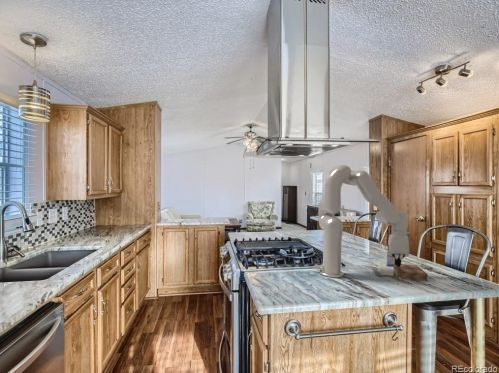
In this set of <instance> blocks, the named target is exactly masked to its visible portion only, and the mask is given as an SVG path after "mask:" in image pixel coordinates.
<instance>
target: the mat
mask: <svg viewBox="0 0 499 373" xmlns="http://www.w3.org/2000/svg"><path fill="white" fill-rule="evenodd" d="M371 269H372V271H373V272H374V274H375V276H377V277H379V278H380V277H381V278H382V277H383V278H391V279H392V278H393V279H400V277H399V276H398V274H397V273H396V272H394V276H391V275H382V274H381V273H380V272H379V270H378V268H374V267H373V268H371Z"/></svg>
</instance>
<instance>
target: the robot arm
mask: <svg viewBox="0 0 499 373" xmlns="http://www.w3.org/2000/svg"><path fill="white" fill-rule="evenodd" d="M325 180H326V181H325V184H324V196H323V197H322V198H321V199H320V200H319V203H318V224H319V227H320V229H321V230H323V231H324V233H323V242H322V245H323V247H322V248H323V249H322V263H321V264H320V265H318V264H314V266H313V267H314V268H313V269H316V270H319V274H320V275H322V276H324V277H329V278H342V277H343V276H344V274H345V272H343V271H342V270H341V269H342V238H343V231H344V223H343V222H342V220H341V219H340V218H339V217H337V216H335V215H336V214H338V213H339V212H340V211H341V208H342V197H341V196H342V195H341V193H342V186H343V184H346V185H349V186H356V187H357V188H358V191H359V192H360V193H361V195H362V196H363V198H364V200H366V202H368V203H369V204H371V205H373V206H374V207H376V208H377V209H378V210H379V211H377V212H376V214H375V219H376V221H378V222H379V223H381V224H384V225H389V226H391V233H390V234H389V235H388V240H387V241H388V242H387V251H388V255H391V256H393V257H394V258H395V265H396V266H397V267H398V266H399V267H400V265H401V264H402V260H403V259H404V258H406V257H410V241H409V236H408V235H410V231H408V213H407V211H403V210H397V208H396V207H395V205H394V204H393V203H392V202H391V201H390V199H388V198H387V197H386V196H385V195H384V194H382V193H381V191H380V190H379V187H378V186H376V183H375V181H373V179H372V177H371V176H370V174H369V173H368V172H367V171H365V170H352V169H351V167H350V166H348V165H346V164H344V165H337V166H333V167H332V168H331V169H330V170H329V172H328V177H327V178H326V179H325ZM397 254H399V257H397Z"/></svg>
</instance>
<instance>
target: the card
mask: <svg viewBox="0 0 499 373" xmlns="http://www.w3.org/2000/svg"><path fill="white" fill-rule="evenodd" d="M377 269H378V270H379V272H380V273H381V274H382V275H391V276H394V273H395V271H394V270H393V268H391V266H386V265H377Z"/></svg>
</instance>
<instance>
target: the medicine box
mask: <svg viewBox="0 0 499 373" xmlns="http://www.w3.org/2000/svg"><path fill="white" fill-rule="evenodd" d="M397 257H399V254H397ZM394 263H395V258H394V257H393V256H391V255H388V250H384V266H388V267H390V268H391V267H392V268H393V267H394Z"/></svg>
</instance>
